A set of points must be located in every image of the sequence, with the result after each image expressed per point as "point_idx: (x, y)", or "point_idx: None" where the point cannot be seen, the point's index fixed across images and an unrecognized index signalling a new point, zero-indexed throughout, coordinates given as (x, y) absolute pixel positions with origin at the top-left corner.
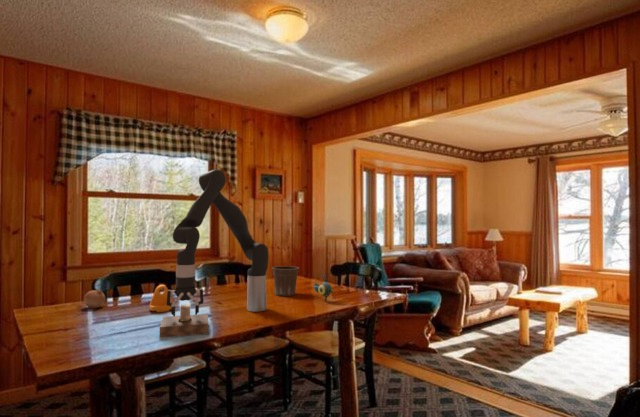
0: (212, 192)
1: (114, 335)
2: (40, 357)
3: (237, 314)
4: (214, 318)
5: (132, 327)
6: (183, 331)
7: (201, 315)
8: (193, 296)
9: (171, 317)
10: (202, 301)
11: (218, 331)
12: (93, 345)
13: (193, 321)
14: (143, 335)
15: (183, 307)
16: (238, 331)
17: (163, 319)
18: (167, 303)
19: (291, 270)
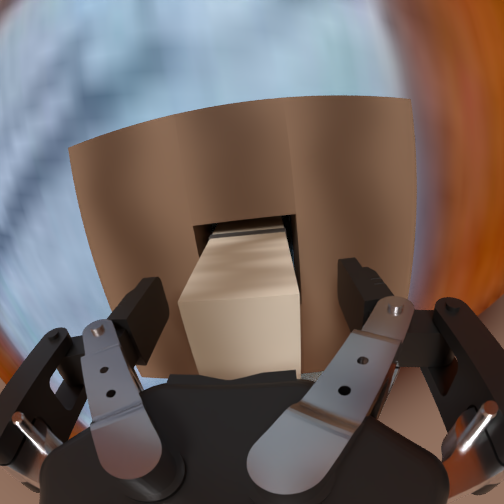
0: None
1: (4, 273)
2: (7, 382)
3: (484, 5)
4: (401, 14)
5: (2, 166)
6: None
7: (370, 135)
8: (373, 387)
9: (123, 169)
10: (443, 368)
11: (424, 292)
12: (23, 352)
13: (316, 310)
14: (80, 297)
15: (232, 375)
16: (482, 298)
17: (89, 224)
18: (74, 388)
19: None
